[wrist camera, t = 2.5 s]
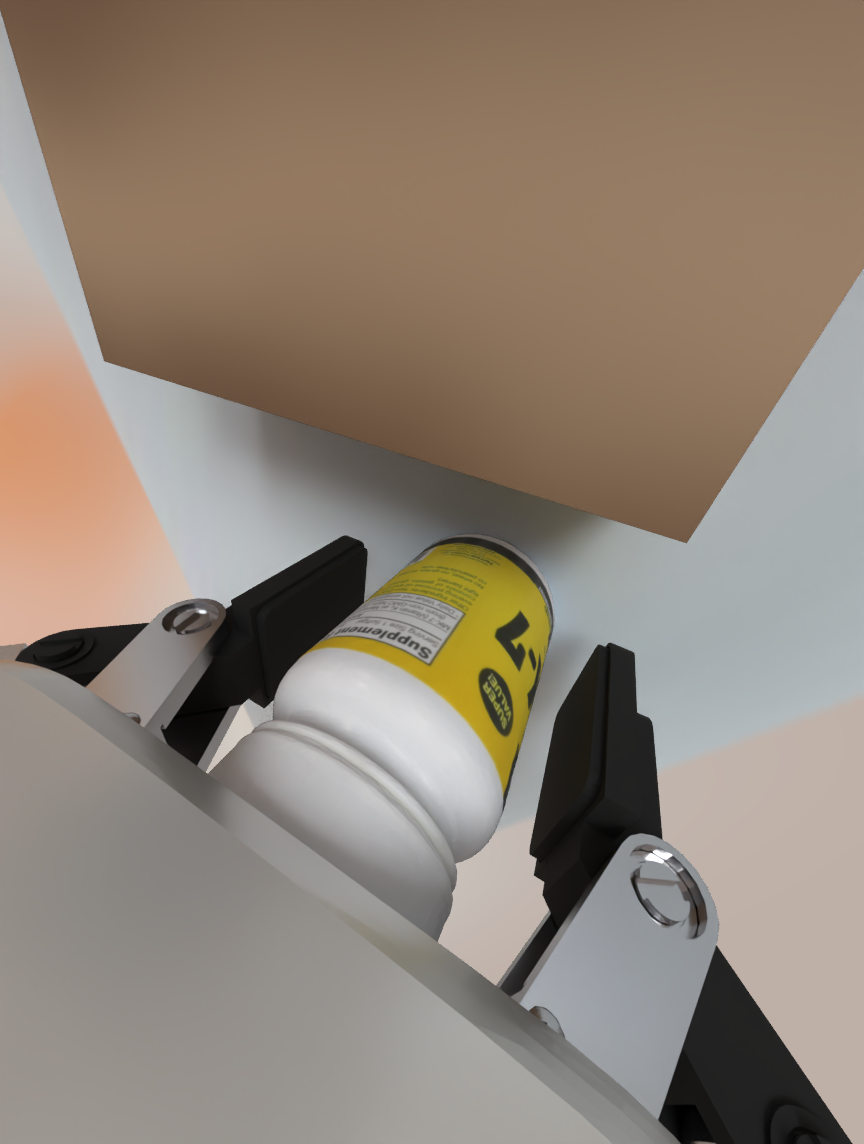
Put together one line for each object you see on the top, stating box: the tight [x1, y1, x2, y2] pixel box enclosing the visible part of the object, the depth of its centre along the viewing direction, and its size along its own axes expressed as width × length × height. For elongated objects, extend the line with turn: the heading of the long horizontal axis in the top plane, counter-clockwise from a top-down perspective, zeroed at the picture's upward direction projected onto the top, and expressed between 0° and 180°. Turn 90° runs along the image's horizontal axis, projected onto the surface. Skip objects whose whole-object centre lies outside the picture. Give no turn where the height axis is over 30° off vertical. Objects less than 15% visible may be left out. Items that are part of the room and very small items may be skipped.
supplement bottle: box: [208, 534, 555, 942], centre depth 8 cm, size 5×5×8 cm
